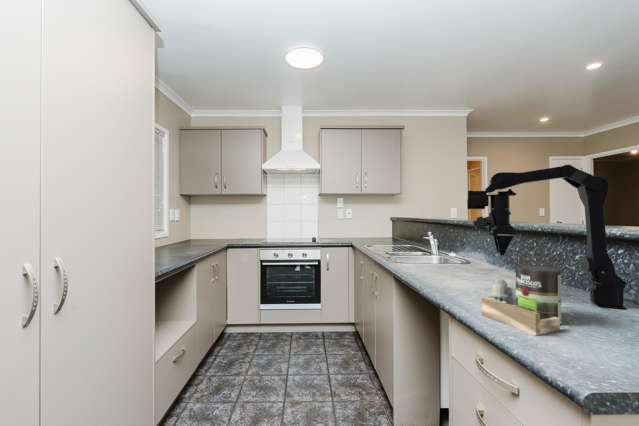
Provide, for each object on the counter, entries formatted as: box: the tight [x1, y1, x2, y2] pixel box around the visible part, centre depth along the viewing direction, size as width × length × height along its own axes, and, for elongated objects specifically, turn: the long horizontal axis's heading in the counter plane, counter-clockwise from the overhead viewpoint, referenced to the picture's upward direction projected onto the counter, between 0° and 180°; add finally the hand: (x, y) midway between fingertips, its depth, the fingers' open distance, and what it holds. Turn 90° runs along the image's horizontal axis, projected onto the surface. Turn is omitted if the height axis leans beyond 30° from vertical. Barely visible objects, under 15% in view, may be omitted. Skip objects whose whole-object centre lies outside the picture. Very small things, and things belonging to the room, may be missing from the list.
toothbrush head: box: [488, 277, 509, 303], centre depth 104 cm, size 5×7×25 cm
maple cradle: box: [480, 296, 561, 336], centre depth 78 cm, size 8×15×5 cm, turn 20°
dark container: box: [514, 263, 563, 325], centre depth 81 cm, size 10×10×14 cm
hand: (500, 253), depth 104 cm, fingers open, 9 cm apart
